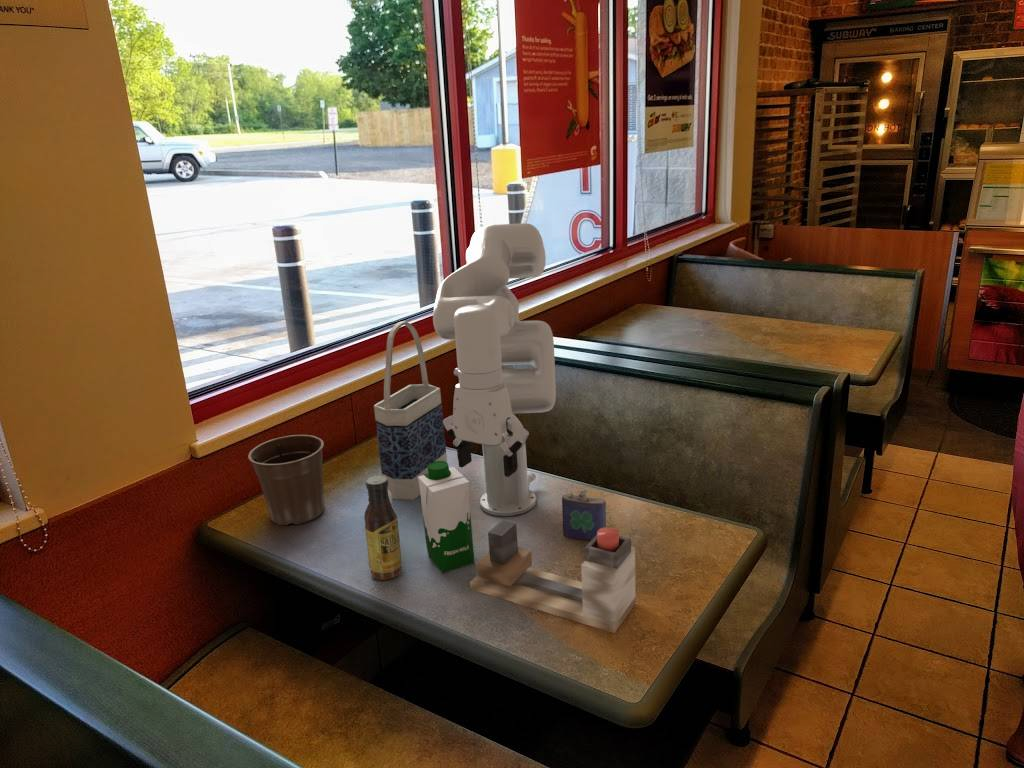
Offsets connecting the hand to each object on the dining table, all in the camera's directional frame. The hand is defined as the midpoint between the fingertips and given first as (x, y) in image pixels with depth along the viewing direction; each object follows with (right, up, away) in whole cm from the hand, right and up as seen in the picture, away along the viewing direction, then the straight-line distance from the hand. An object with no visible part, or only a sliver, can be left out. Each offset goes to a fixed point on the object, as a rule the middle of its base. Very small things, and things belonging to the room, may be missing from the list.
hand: (487, 469), depth 136 cm
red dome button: (+20, -12, -8) cm, 25 cm away
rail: (+11, -23, +2) cm, 26 cm away
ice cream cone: (-23, -18, +26) cm, 38 cm away
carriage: (+3, -20, +6) cm, 21 cm away
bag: (-19, -9, +50) cm, 54 cm away
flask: (+19, -17, +21) cm, 33 cm away
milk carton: (-8, -20, +16) cm, 27 cm away
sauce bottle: (-20, -22, +13) cm, 32 cm away
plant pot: (-45, -15, +39) cm, 61 cm away
